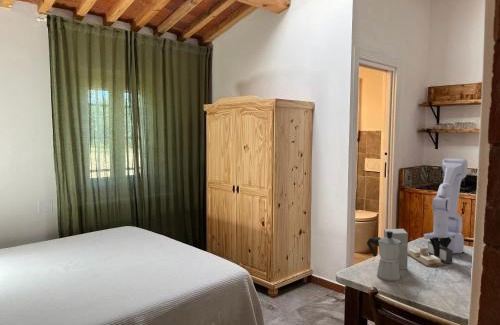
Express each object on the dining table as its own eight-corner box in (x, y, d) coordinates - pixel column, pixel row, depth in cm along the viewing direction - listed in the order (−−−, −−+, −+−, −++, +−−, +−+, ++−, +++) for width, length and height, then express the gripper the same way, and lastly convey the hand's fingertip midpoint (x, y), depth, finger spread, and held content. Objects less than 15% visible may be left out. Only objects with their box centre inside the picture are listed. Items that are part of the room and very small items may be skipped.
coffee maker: (407, 276, 146) (409, 231, 144) (403, 284, 138) (404, 236, 137) (369, 269, 154) (370, 226, 152) (363, 276, 147) (364, 231, 145)
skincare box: (402, 264, 159) (403, 228, 158) (408, 270, 152) (409, 232, 151) (382, 264, 160) (383, 227, 158) (386, 270, 153) (387, 232, 151)
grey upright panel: (452, 263, 159) (452, 250, 159) (446, 263, 159) (447, 250, 159) (432, 252, 173) (432, 241, 173) (427, 252, 173) (427, 241, 173)
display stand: (421, 252, 174) (421, 242, 174) (444, 265, 157) (444, 253, 157) (404, 253, 173) (405, 242, 173) (426, 266, 156) (426, 254, 156)
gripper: (430, 226, 160) (429, 257, 161) (462, 225, 162) (460, 256, 163) (421, 222, 167) (420, 252, 168) (451, 221, 169) (450, 251, 170)
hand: (439, 254), depth 166 cm, fingers closed on grey upright panel, 2 cm apart
